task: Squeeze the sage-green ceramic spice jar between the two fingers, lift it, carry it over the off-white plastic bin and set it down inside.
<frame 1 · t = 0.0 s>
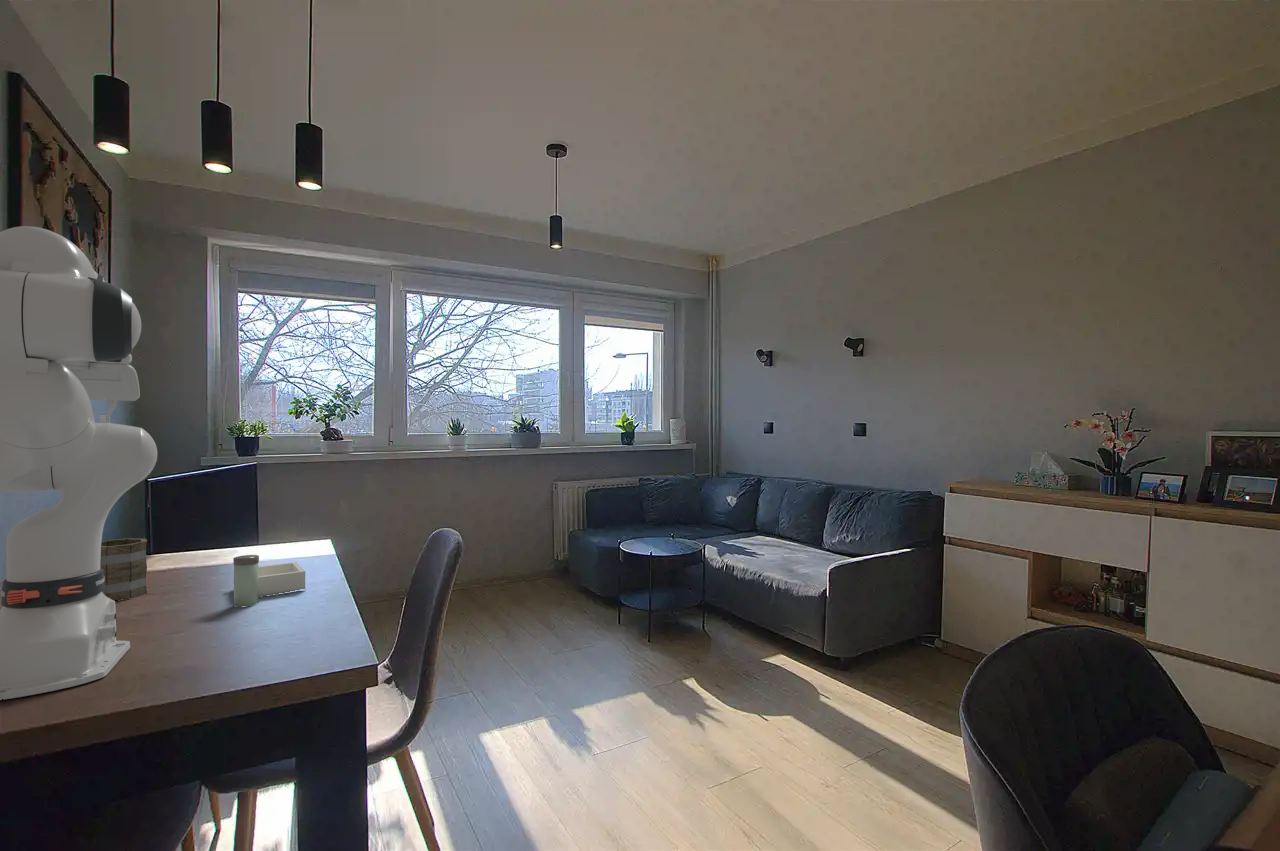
hand: (72, 423, 116), 39 cm above the table, tool pointing down, fingers open, 8 cm apart
spice jar: (245, 604, 130), on the table
bin: (271, 589, 142), on the table
mug: (111, 595, 137), on the table
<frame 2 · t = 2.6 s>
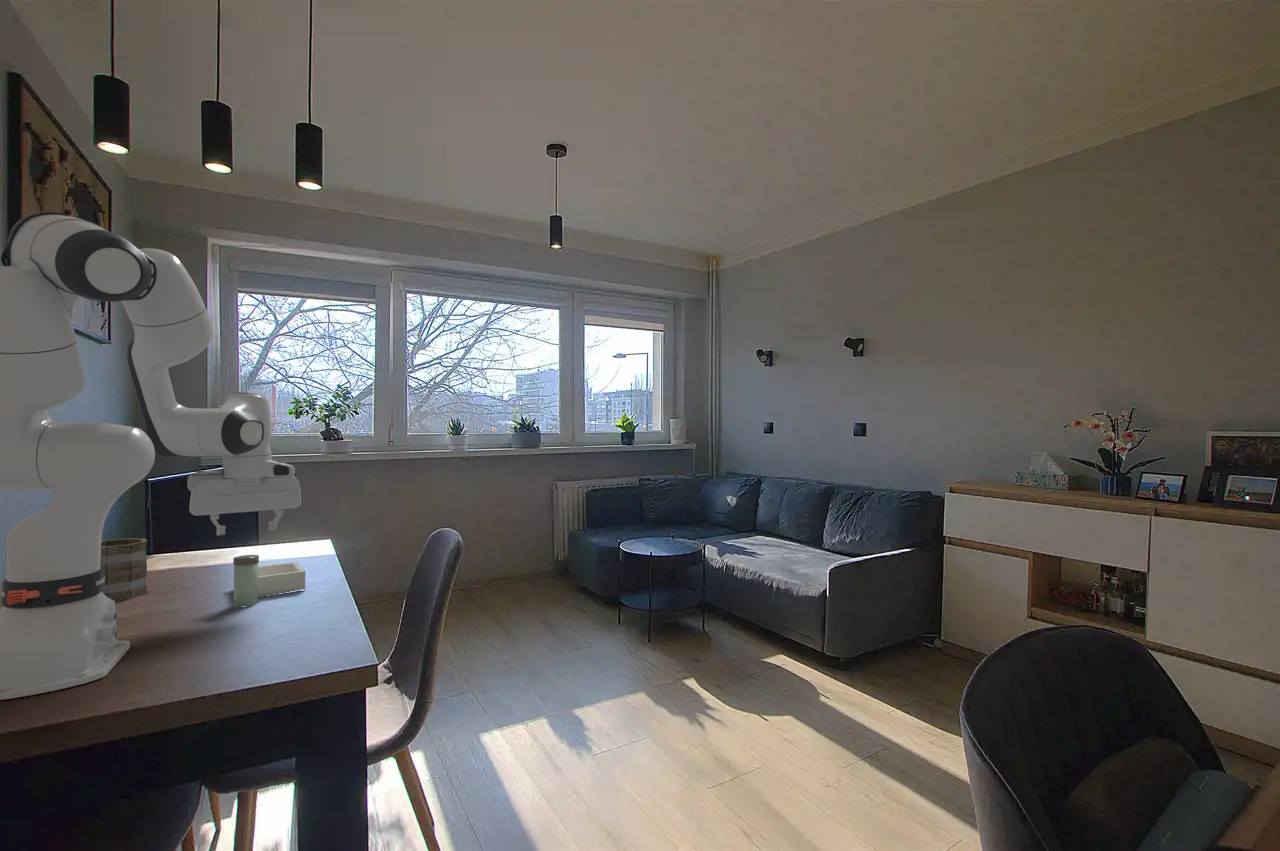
hand: (247, 532, 130), 15 cm above the table, tool pointing down, fingers open, 8 cm apart
nothing on the table moved.
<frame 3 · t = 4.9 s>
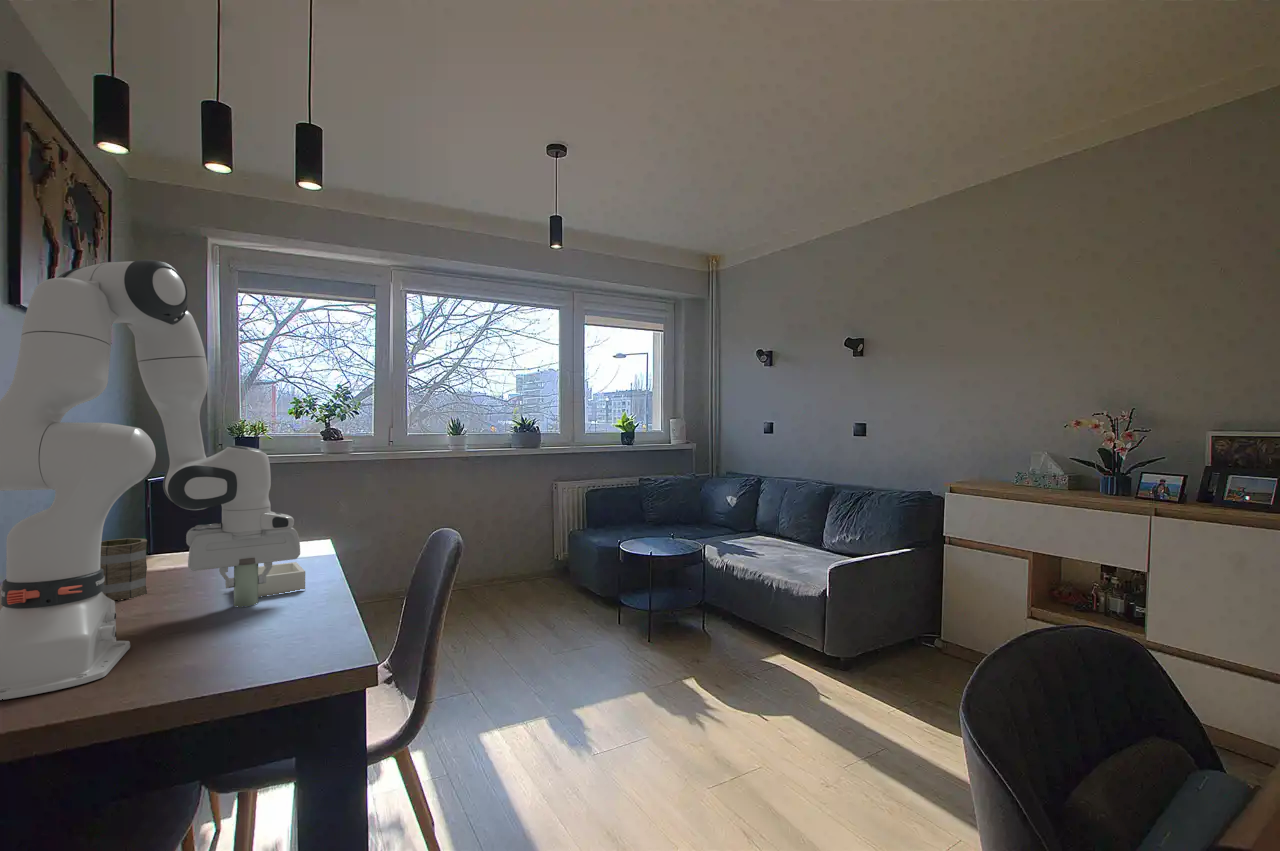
hand: (246, 585, 130), 4 cm above the table, tool pointing down, fingers closed on spice jar, 4 cm apart
spice jar: (246, 604, 130), on the table, touching gripper
everything else where it was.
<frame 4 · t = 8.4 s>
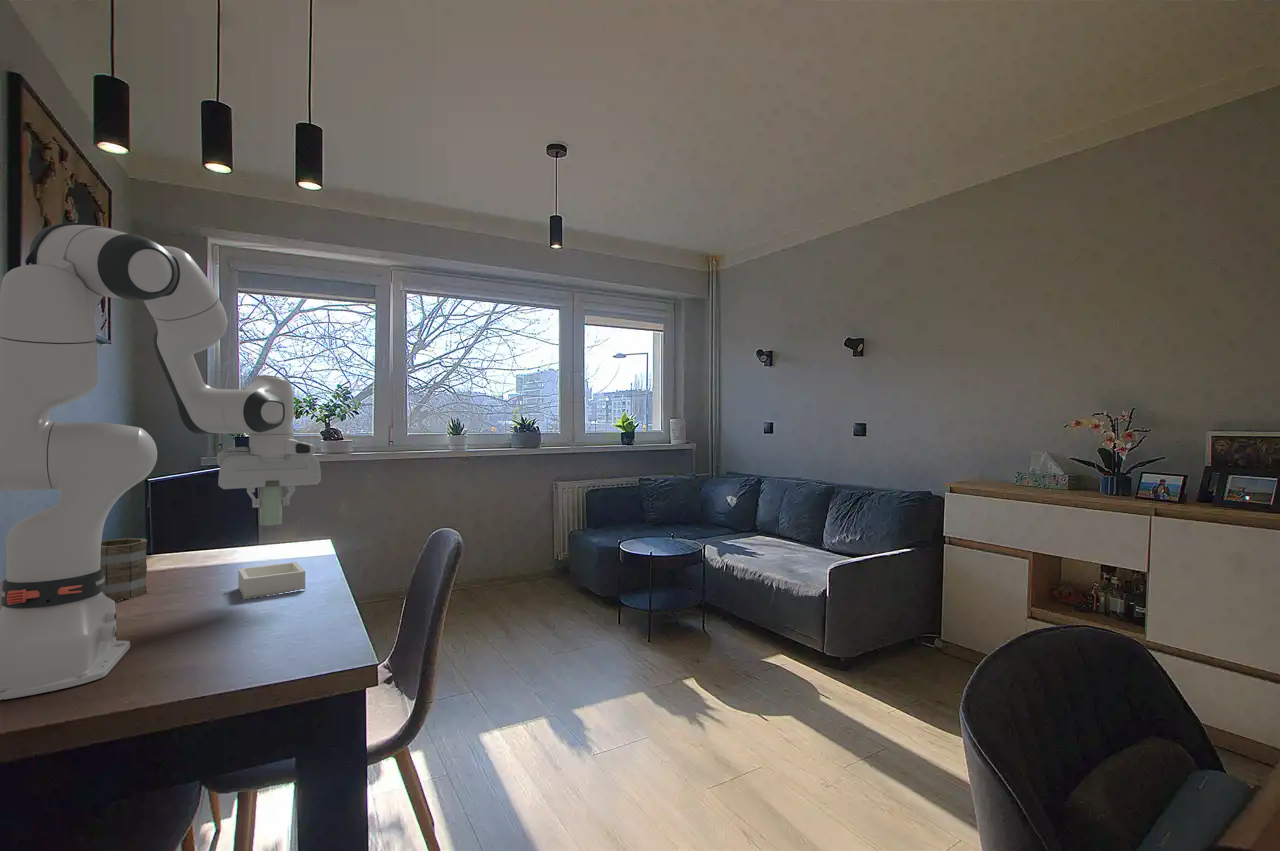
hand: (271, 506, 140), 20 cm above the table, tool pointing down, fingers closed on spice jar, 4 cm apart
spice jar: (270, 523, 140), point 16 cm above the table, touching gripper
everything else where it was.
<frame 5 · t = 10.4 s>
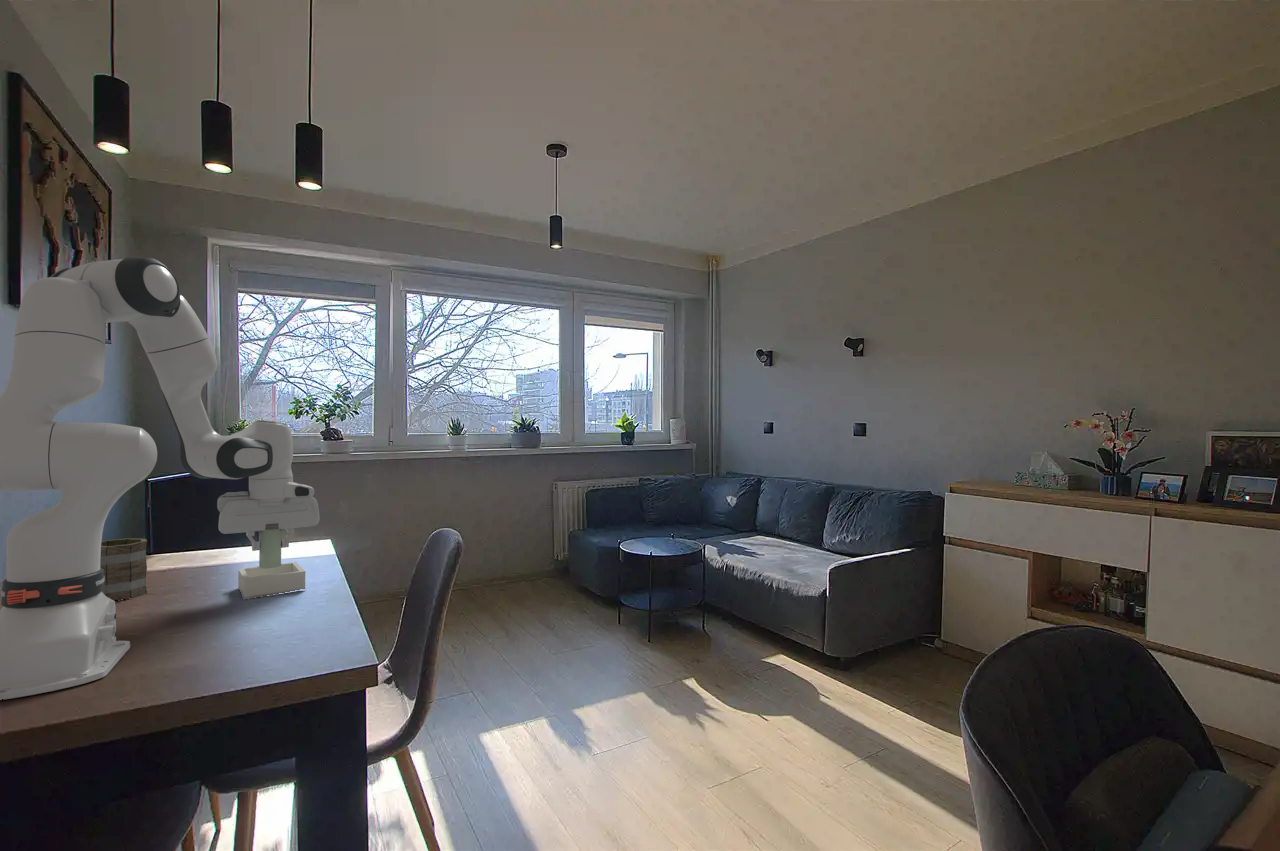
hand: (270, 548, 142), 10 cm above the table, tool pointing down, fingers closed on spice jar, 4 cm apart
spice jar: (270, 566, 142), point 5 cm above the table, touching gripper
everything else where it was.
when the fingers open (7 cm above the table, at t = 11.8 s): spice jar drops 2 cm, resting on bin.
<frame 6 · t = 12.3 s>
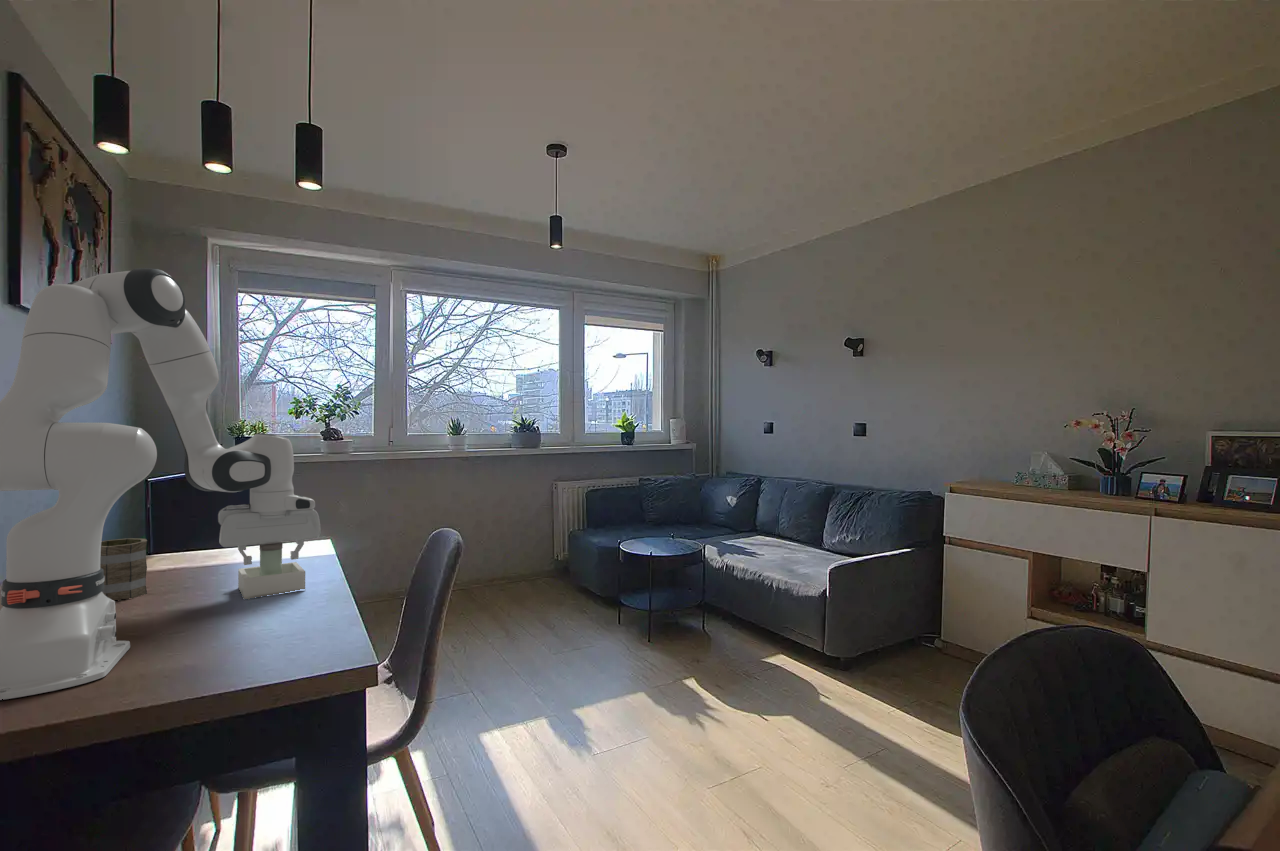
hand: (271, 561, 142), 7 cm above the table, tool pointing down, fingers open, 8 cm apart
spice jar: (270, 587, 142), point 1 cm above the table, touching bin
everything else where it was.
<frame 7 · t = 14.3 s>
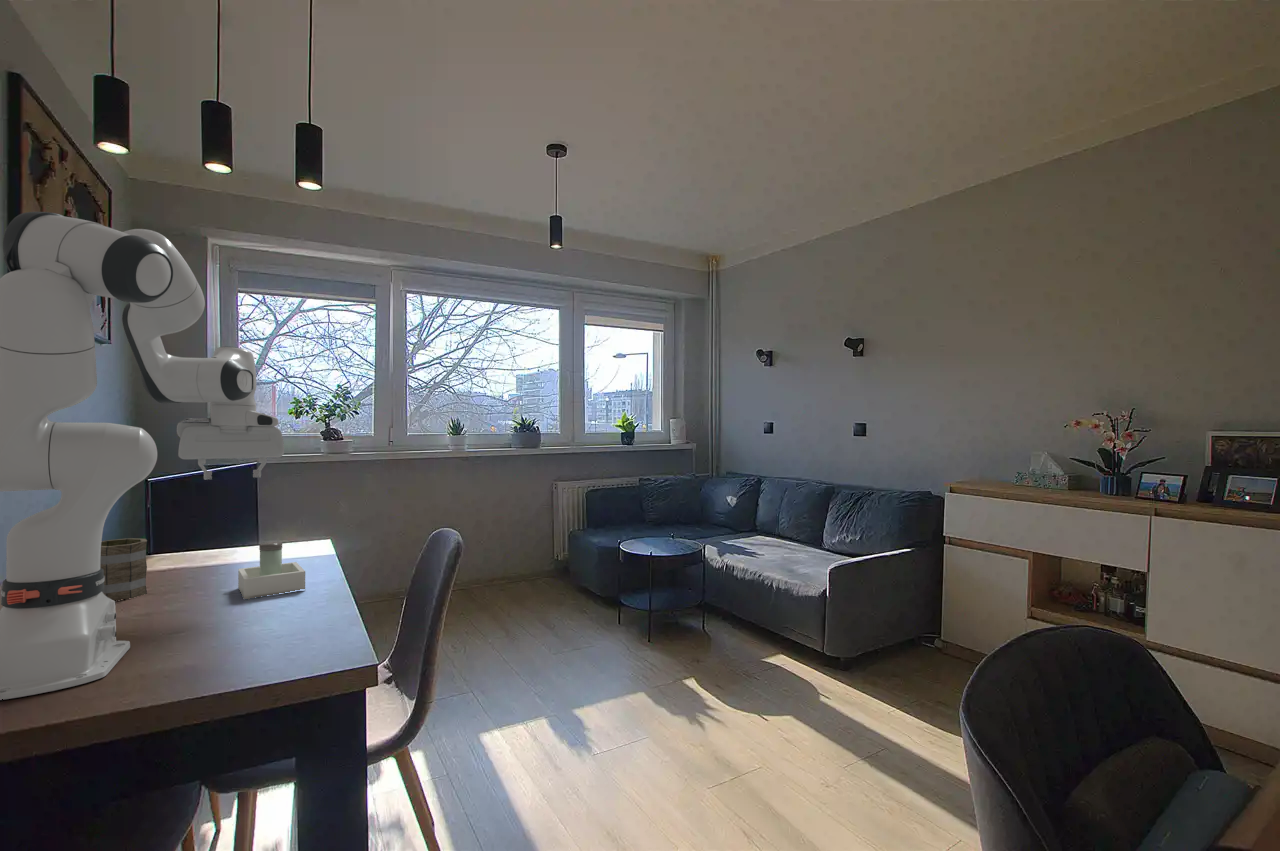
hand: (232, 478, 139), 26 cm above the table, tool pointing down, fingers open, 8 cm apart
nothing on the table moved.
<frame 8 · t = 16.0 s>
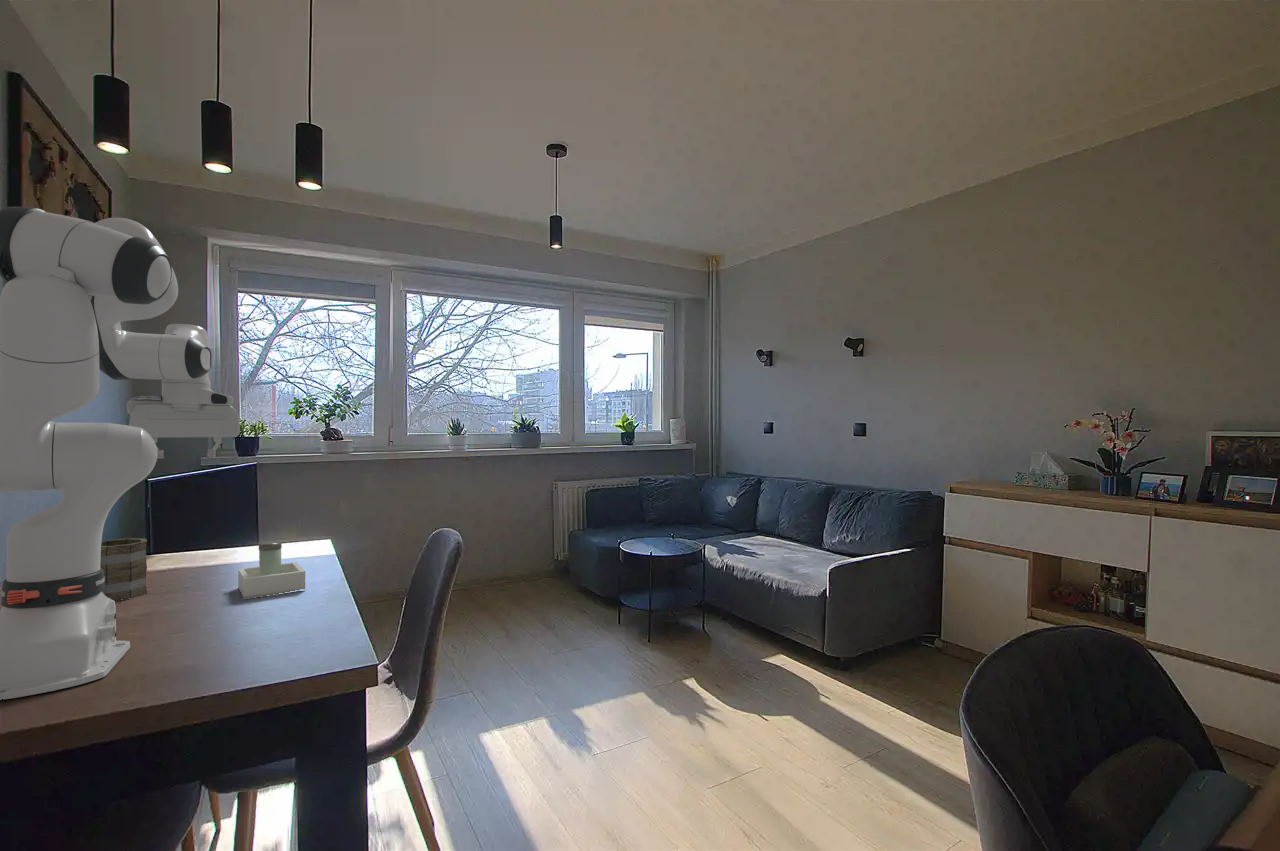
hand: (186, 457, 137), 31 cm above the table, tool pointing down, fingers open, 8 cm apart
nothing on the table moved.
at the end: spice jar inside the target area on the bin (0.1 cm from its centre), point 0.7 cm above the bin's base; spice jar tilted 2°; the gripper is holding nothing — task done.
